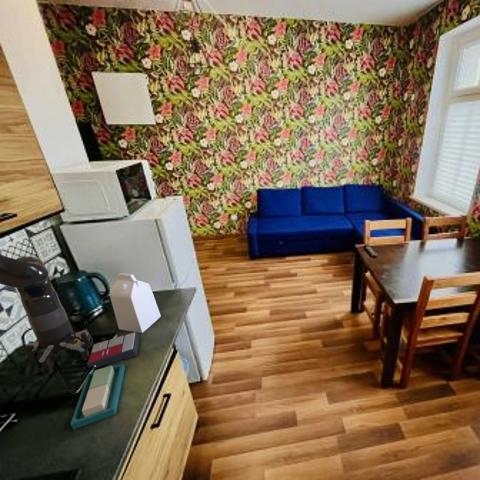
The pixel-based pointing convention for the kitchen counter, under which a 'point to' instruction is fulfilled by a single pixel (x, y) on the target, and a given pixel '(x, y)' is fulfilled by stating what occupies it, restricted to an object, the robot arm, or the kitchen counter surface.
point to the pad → (96, 400)
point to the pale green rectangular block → (103, 377)
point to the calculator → (114, 350)
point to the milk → (133, 304)
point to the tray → (112, 405)
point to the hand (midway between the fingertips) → (68, 363)
